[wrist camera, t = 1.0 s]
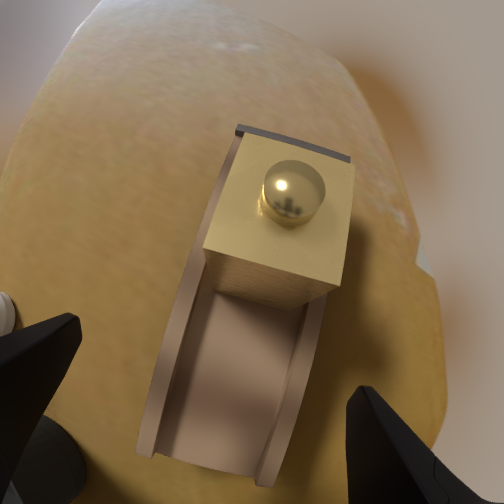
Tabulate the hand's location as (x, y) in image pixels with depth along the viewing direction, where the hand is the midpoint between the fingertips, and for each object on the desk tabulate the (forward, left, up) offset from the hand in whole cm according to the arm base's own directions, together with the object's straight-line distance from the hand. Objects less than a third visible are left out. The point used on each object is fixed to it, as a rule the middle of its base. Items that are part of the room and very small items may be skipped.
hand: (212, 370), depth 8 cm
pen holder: (-9, +18, -12) cm, 23 cm away
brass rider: (+5, -3, -8) cm, 10 cm away
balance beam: (+3, -2, -12) cm, 13 cm away
